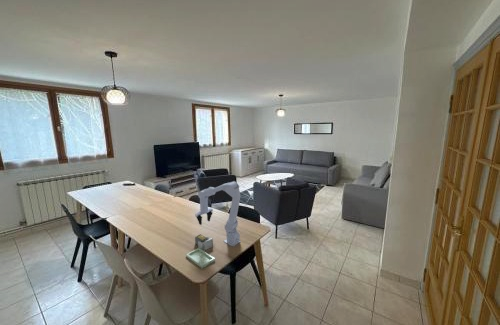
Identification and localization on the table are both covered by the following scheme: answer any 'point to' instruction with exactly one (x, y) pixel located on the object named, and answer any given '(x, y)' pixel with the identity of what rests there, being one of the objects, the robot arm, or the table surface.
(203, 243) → the bay
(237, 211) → the robot arm
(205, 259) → the tray
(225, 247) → the table surface
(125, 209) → the table surface
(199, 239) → the grey block yellow label
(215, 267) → the table surface
